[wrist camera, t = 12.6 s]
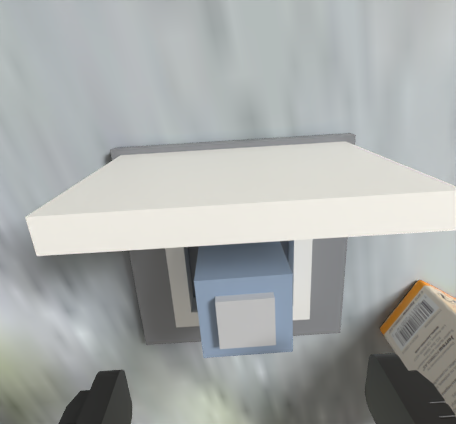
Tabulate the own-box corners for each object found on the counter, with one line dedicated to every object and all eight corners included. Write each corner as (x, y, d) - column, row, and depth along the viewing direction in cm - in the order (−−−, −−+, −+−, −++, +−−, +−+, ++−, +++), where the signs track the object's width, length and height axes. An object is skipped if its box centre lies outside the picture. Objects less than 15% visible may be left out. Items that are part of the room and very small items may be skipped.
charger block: (201, 224, 19) (193, 287, 13) (271, 218, 19) (294, 279, 13) (208, 283, 20) (203, 365, 14) (272, 278, 20) (294, 358, 14)
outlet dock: (114, 147, 18) (3, 207, 9) (350, 133, 18) (485, 177, 9) (148, 336, 22) (98, 505, 13) (336, 324, 22) (415, 486, 13)
